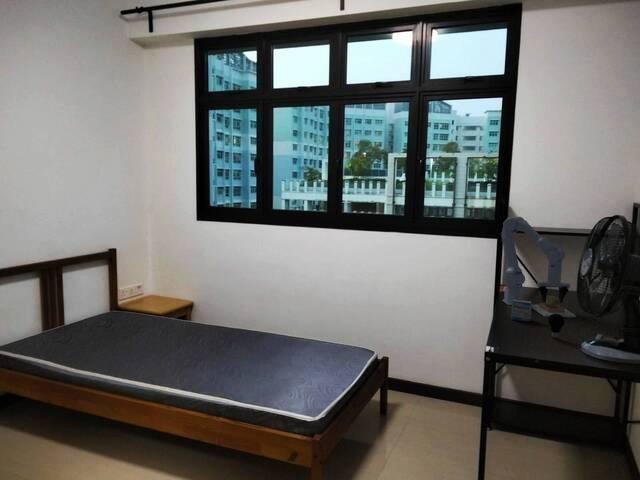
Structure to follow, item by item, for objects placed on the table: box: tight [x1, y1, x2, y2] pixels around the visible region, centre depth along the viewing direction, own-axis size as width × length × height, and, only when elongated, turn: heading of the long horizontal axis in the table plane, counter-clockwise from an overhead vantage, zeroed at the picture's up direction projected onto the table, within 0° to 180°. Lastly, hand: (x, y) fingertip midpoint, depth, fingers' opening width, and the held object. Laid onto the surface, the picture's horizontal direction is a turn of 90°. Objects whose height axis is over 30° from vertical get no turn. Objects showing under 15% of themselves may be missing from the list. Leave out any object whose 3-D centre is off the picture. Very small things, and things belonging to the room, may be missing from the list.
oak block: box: [544, 295, 561, 308], centre depth 225 cm, size 4×6×6 cm, turn 178°
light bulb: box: [547, 314, 566, 339], centre depth 186 cm, size 6×6×10 cm
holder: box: [531, 302, 577, 318], centre depth 225 cm, size 18×14×3 cm
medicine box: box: [510, 299, 533, 323], centre depth 211 cm, size 8×4×9 cm, turn 62°
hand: (552, 302), depth 225 cm, fingers open, 7 cm apart
